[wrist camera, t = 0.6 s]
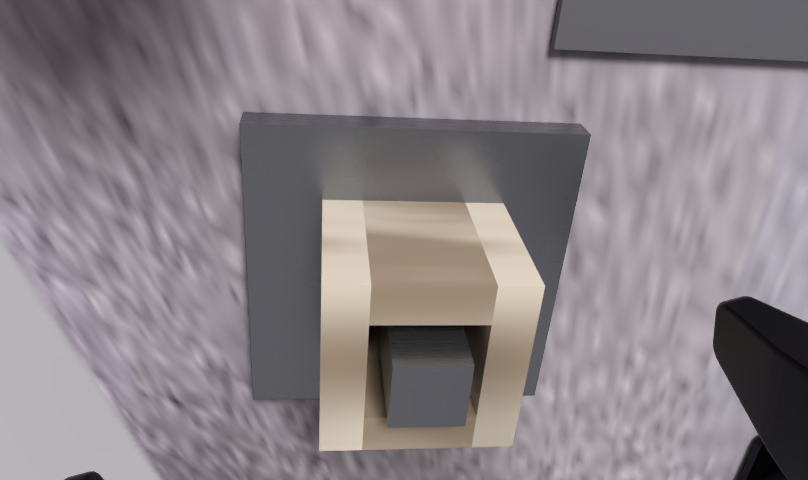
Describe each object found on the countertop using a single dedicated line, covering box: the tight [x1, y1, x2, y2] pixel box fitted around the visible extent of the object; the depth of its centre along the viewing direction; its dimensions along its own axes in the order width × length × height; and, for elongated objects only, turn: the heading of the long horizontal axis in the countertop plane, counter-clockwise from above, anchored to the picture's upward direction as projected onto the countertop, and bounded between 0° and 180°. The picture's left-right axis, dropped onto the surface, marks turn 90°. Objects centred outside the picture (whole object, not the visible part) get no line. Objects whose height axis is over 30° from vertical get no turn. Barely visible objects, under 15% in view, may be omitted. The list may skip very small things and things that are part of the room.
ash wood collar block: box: [319, 200, 545, 451], centre depth 22 cm, size 6×6×5 cm
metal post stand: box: [240, 112, 591, 428], centre depth 22 cm, size 11×11×7 cm
